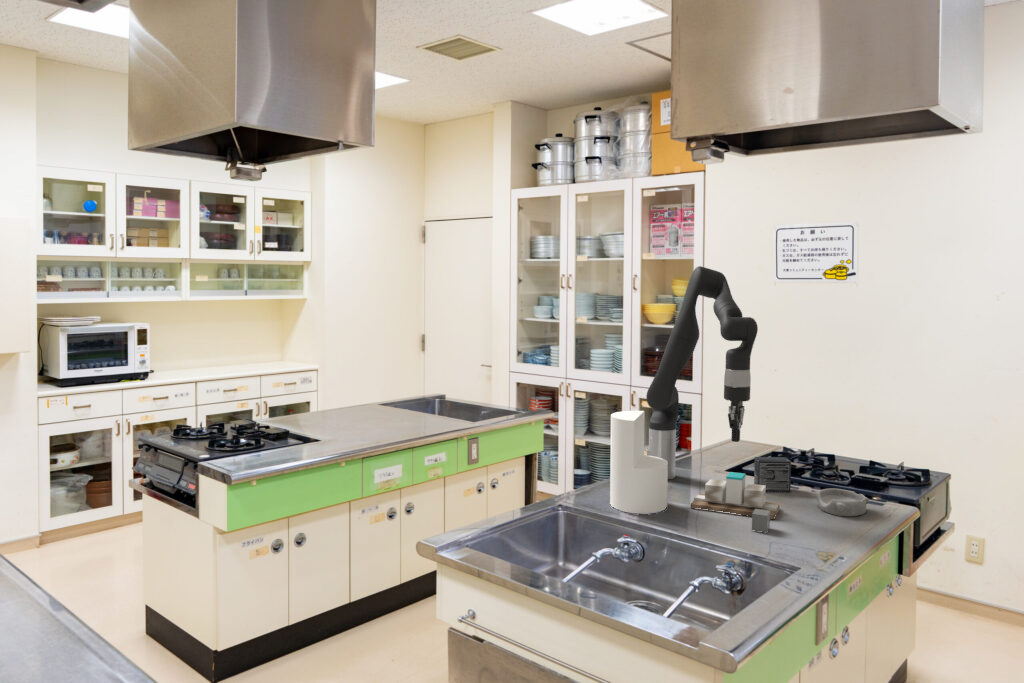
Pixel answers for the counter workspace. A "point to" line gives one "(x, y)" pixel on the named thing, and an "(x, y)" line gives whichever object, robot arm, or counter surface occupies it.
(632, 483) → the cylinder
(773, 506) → the board
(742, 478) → the block
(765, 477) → the small box
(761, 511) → the grey block
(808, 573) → the counter surface
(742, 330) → the robot arm
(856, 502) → the dish
